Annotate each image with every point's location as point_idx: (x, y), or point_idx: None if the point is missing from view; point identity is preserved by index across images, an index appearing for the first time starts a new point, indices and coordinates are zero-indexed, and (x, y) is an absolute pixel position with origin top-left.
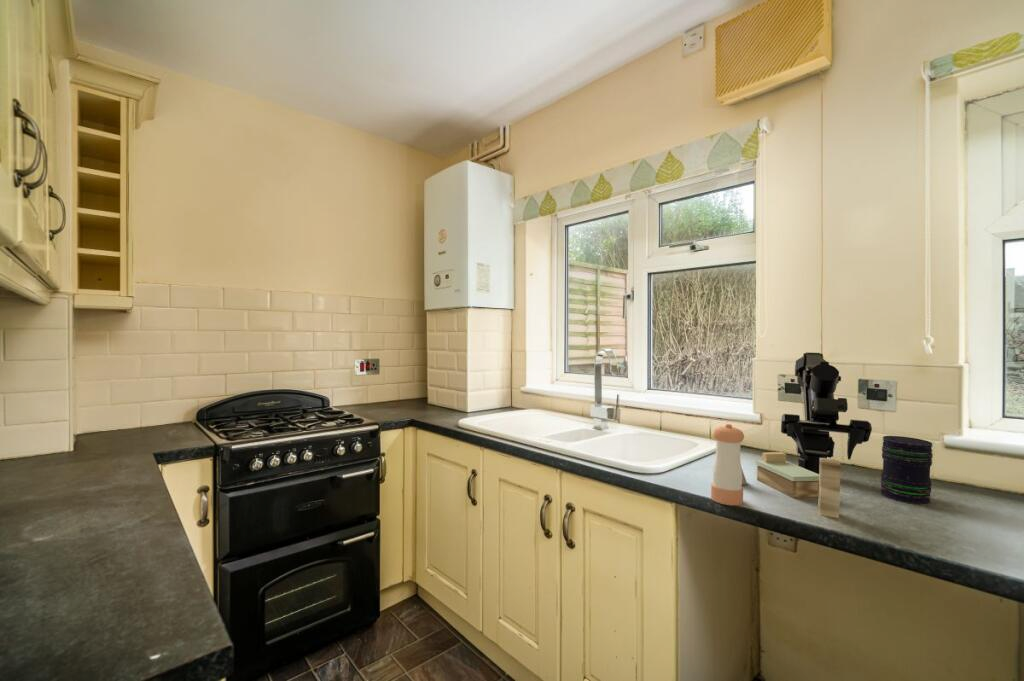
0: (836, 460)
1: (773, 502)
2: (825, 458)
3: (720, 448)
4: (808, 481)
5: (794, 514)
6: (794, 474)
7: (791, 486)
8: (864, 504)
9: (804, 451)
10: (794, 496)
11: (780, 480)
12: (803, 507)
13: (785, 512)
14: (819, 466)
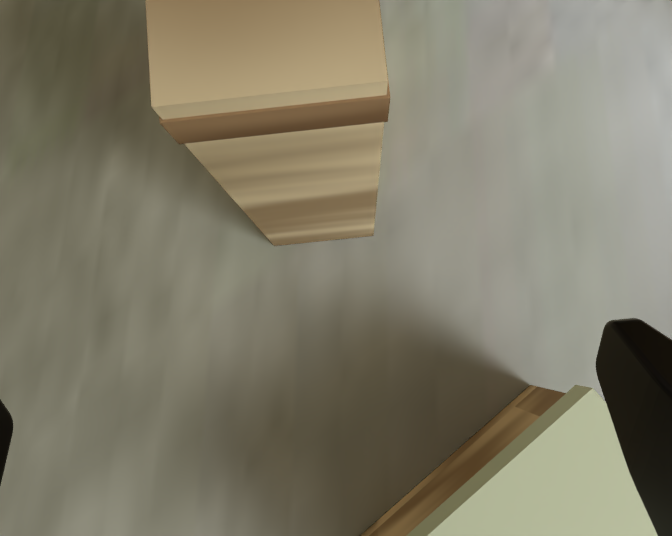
0: (175, 57)
1: (631, 202)
2: (312, 86)
3: None
4: None
5: (495, 55)
6: (589, 488)
7: None
8: None
9: (622, 321)
10: (522, 395)
11: None
12: (455, 221)
13: (544, 57)
14: (382, 130)
